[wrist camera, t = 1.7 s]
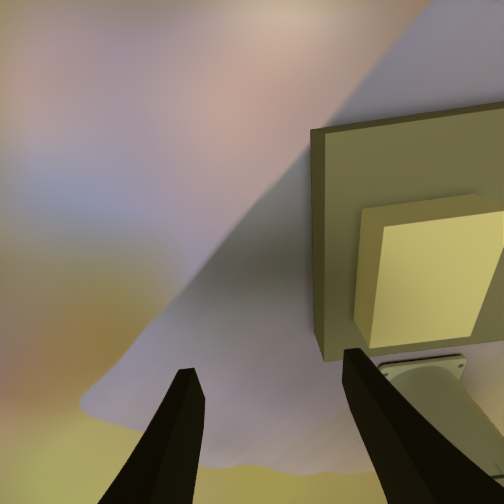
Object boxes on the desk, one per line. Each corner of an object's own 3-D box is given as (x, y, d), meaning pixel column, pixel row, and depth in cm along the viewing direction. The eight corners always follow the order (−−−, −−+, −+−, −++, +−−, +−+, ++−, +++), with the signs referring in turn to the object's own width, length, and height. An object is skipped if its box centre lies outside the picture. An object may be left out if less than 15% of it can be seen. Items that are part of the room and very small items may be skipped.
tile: (441, 308, 18) (470, 336, 16) (353, 319, 18) (369, 348, 16) (474, 193, 14) (517, 209, 12) (361, 208, 14) (384, 226, 12)
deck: (479, 312, 22) (511, 339, 20) (314, 332, 23) (324, 362, 20) (560, 93, 15) (631, 90, 12) (310, 129, 15) (325, 133, 12)
